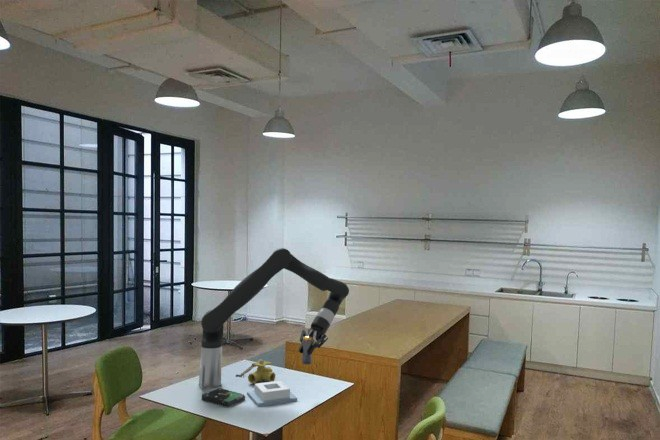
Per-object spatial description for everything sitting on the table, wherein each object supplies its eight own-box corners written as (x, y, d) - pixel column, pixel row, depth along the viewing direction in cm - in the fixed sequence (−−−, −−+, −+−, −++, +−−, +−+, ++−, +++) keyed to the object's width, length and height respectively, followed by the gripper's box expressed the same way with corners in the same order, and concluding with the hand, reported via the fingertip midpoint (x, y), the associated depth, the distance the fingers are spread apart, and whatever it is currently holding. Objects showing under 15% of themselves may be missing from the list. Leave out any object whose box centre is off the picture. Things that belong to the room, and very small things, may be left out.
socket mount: (257, 406, 183) (258, 394, 184) (246, 394, 197) (247, 383, 197) (297, 400, 191) (297, 389, 191) (284, 389, 204) (284, 378, 205)
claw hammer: (247, 380, 219) (248, 377, 219) (235, 377, 221) (235, 375, 221) (264, 367, 240) (264, 365, 240) (252, 364, 241) (252, 362, 241)
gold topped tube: (304, 364, 194) (305, 338, 195) (300, 362, 198) (301, 336, 198) (312, 363, 196) (313, 337, 196) (309, 361, 200) (309, 335, 200)
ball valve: (262, 376, 222) (263, 355, 223) (279, 380, 217) (280, 359, 218) (245, 383, 211) (246, 361, 212) (263, 387, 206) (264, 365, 207)
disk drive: (201, 401, 189) (228, 408, 182) (201, 394, 189) (228, 401, 182) (218, 394, 198) (245, 400, 191) (219, 387, 198) (245, 393, 191)
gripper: (307, 313, 208) (287, 344, 198) (332, 317, 199) (312, 351, 189) (314, 323, 212) (295, 355, 202) (339, 328, 203) (320, 361, 193)
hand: (304, 352), depth 196 cm, fingers closed on gold topped tube, 4 cm apart
